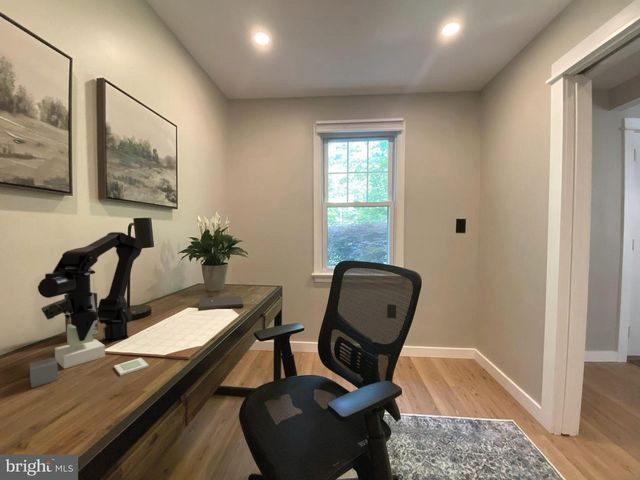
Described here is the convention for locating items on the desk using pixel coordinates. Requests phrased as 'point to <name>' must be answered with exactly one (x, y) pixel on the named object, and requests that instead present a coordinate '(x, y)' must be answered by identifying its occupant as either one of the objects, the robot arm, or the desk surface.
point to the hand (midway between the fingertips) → (80, 338)
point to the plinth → (79, 353)
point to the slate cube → (43, 372)
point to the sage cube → (73, 336)
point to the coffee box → (94, 307)
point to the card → (130, 366)
